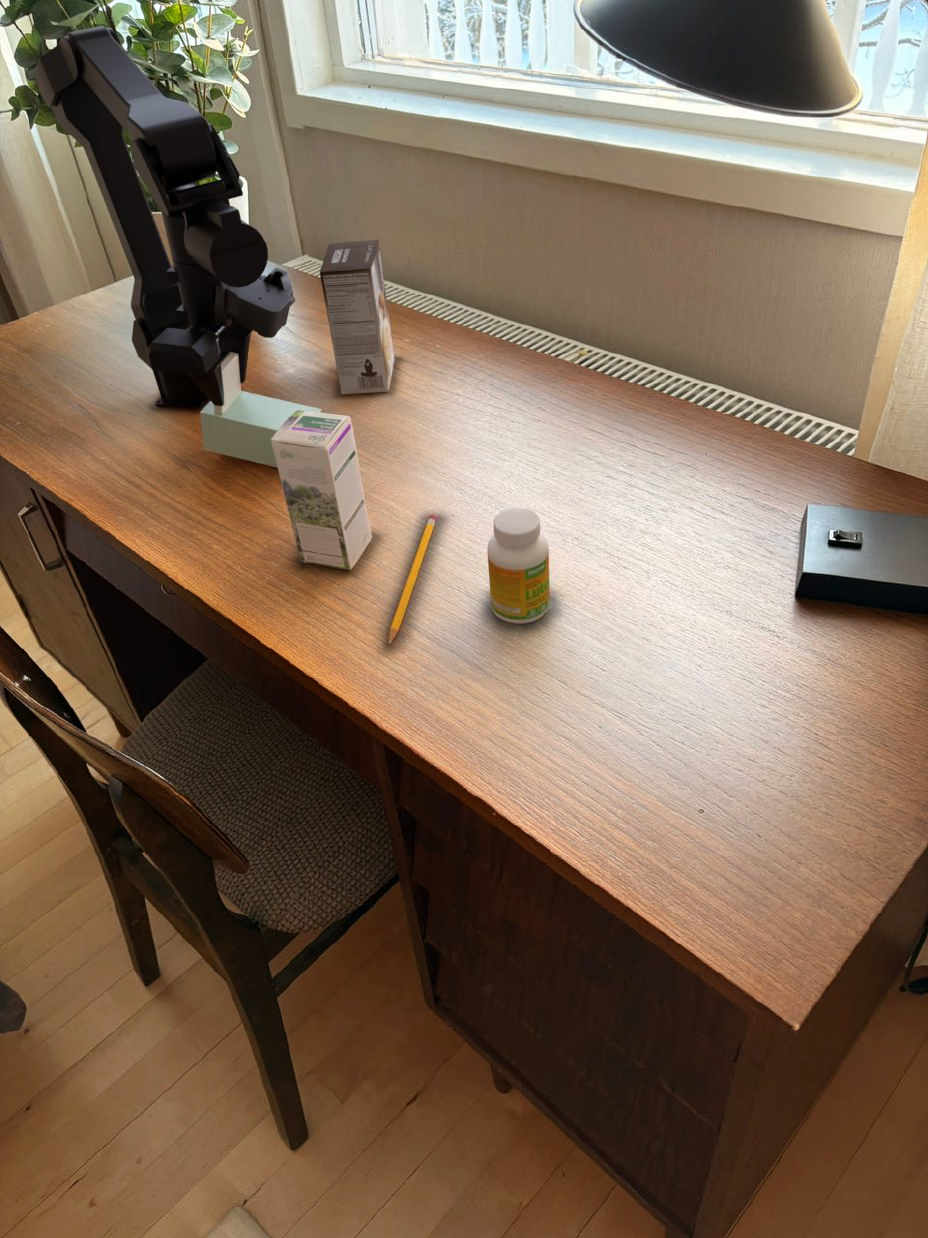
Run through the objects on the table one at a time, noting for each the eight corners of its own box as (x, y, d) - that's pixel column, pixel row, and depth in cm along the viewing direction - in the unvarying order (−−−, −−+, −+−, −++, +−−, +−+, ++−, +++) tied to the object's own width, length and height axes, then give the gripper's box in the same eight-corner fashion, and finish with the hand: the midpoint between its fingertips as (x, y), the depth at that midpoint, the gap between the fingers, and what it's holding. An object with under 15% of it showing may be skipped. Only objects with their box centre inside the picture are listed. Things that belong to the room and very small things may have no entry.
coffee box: (348, 362, 126) (328, 241, 116) (395, 359, 126) (379, 237, 115) (340, 395, 120) (318, 270, 109) (390, 392, 119) (373, 267, 109)
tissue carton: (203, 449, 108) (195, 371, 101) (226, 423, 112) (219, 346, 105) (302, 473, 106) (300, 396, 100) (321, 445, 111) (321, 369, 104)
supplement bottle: (531, 632, 84) (529, 546, 78) (480, 614, 86) (473, 528, 80) (559, 597, 87) (559, 511, 81) (509, 581, 90) (505, 496, 83)
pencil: (436, 520, 98) (436, 515, 98) (394, 647, 84) (393, 641, 84) (429, 520, 98) (428, 514, 98) (385, 646, 84) (384, 641, 84)
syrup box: (374, 538, 96) (352, 411, 87) (350, 573, 92) (325, 445, 83) (323, 530, 98) (297, 405, 88) (298, 565, 94) (267, 438, 84)
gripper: (233, 299, 87) (261, 446, 97) (310, 226, 100) (327, 362, 110) (125, 289, 89) (164, 433, 99) (214, 218, 102) (240, 352, 113)
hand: (229, 393), depth 105 cm, fingers closed on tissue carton, 5 cm apart
